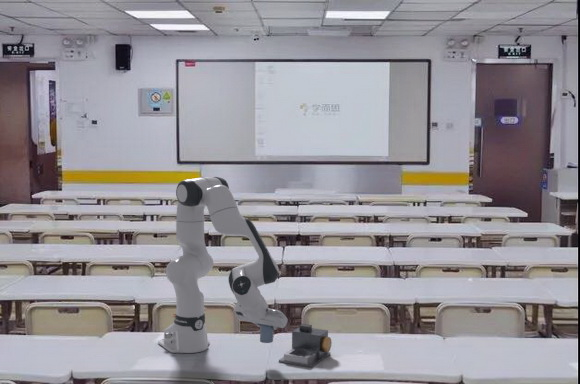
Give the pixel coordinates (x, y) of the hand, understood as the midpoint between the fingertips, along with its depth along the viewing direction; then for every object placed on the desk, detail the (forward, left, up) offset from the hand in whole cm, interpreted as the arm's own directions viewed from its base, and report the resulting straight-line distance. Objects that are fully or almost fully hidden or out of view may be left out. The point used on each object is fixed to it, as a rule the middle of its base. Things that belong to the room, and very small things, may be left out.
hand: (267, 326), depth 287 cm
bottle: (0, -1, -5) cm, 5 cm away
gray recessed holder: (+7, +14, -14) cm, 21 cm away
